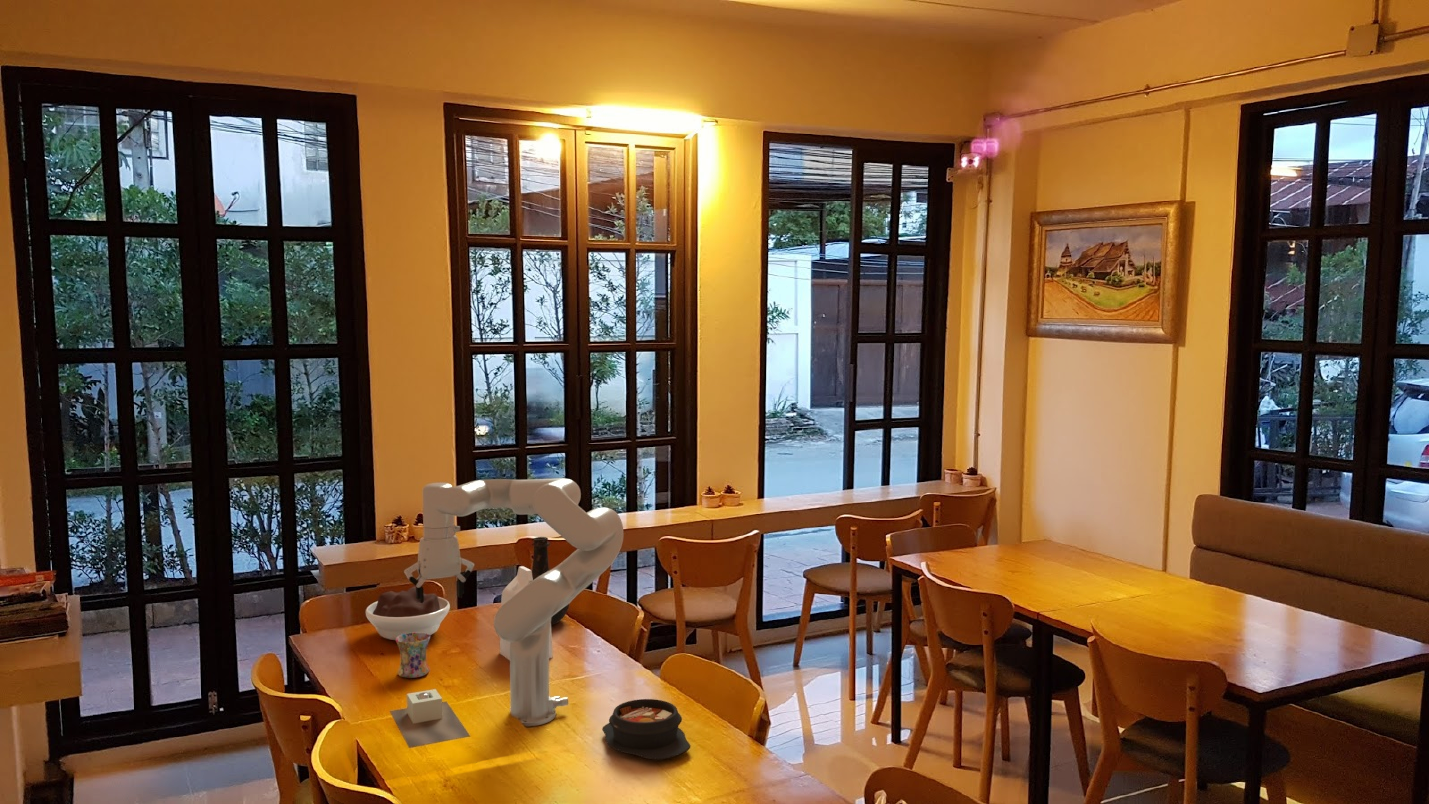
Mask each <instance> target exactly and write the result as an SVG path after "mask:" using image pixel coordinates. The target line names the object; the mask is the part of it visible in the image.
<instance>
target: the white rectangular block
mask: <svg viewBox="0 0 1429 804" xmlns="http://www.w3.org/2000/svg"><path fill="white" fill-rule="evenodd" d="M424 692H426V693H429V698H427V699H421V700H419V694H420V693H424ZM442 702H443V697H442V696H441V695H440V693H439V692H438V691H437V689H436V688H434V689H430V690H429V689H427V690H423V691H417V692H416V691H415V692H409V693H406V708H407V714H408V715H409V717H410V719H411V721H412V722H413V724H414V723H419V722H425V721H430V720H436V719H441V718H442Z"/></svg>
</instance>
